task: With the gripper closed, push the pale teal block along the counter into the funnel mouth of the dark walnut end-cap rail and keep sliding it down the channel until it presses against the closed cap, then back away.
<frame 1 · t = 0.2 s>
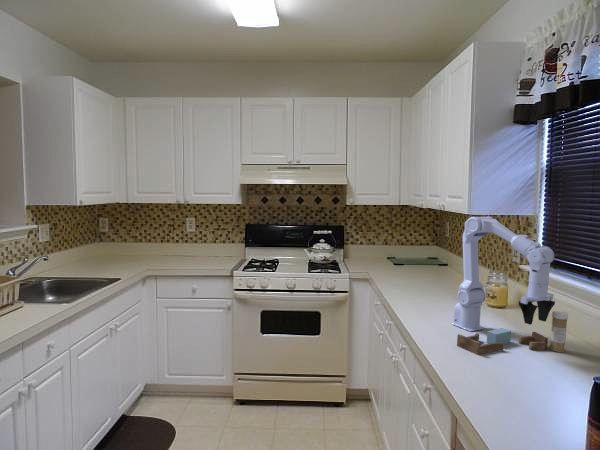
hand: (535, 322, 141), 10 cm above the counter, fingers open, 7 cm apart
brown stepped block: (531, 346, 146), on the counter
endcap rail: (476, 347, 143), on the counter
pale teal block: (498, 343, 148), on the counter
sprinkles bottle: (557, 350, 143), on the counter
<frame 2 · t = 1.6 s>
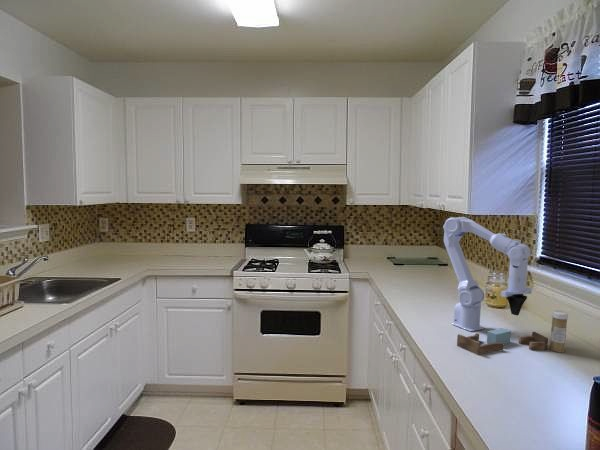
hand: (515, 314, 151), 9 cm above the counter, fingers closed
nothing on the counter moved.
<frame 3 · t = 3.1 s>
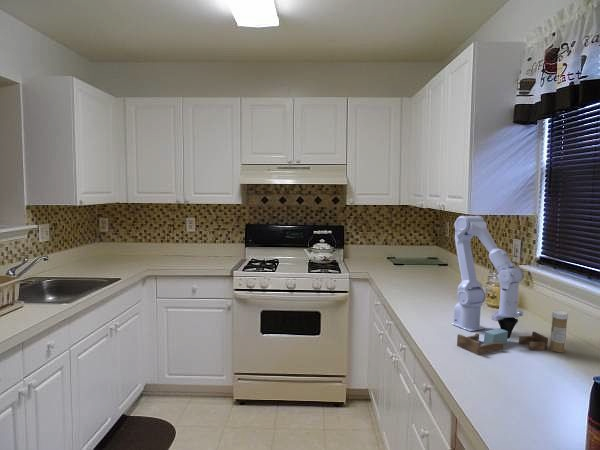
hand: (505, 337, 150), 1 cm above the counter, fingers closed
pale teal block: (495, 343, 148), on the counter, touching gripper
everything else where it was.
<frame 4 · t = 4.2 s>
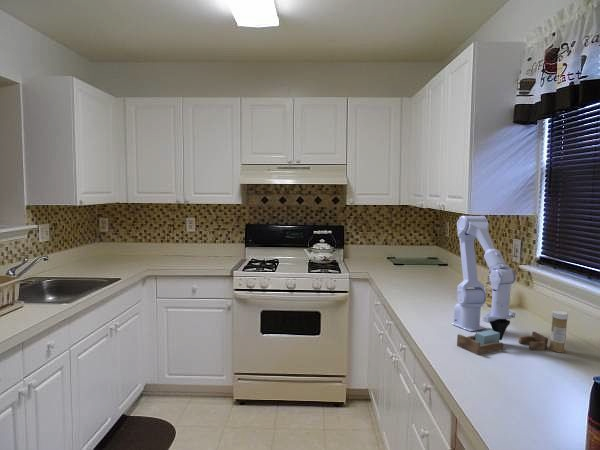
hand: (498, 339, 148), 1 cm above the counter, fingers closed
pale teal block: (487, 345, 146), on the counter, touching gripper
everything else where it was.
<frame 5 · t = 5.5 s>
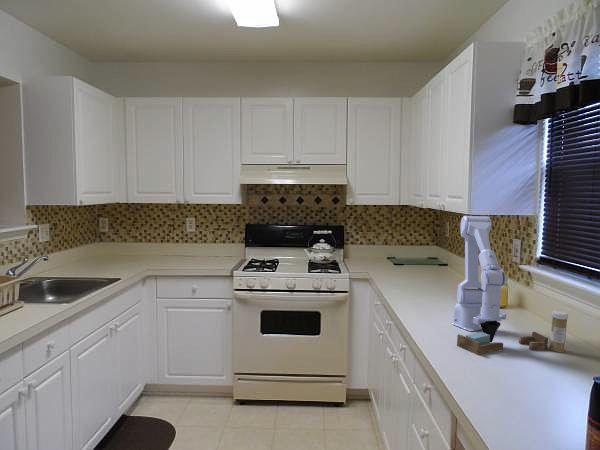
hand: (488, 341, 146), 1 cm above the counter, fingers closed
pale teal block: (477, 347, 143), on the counter, touching gripper
everything else where it was.
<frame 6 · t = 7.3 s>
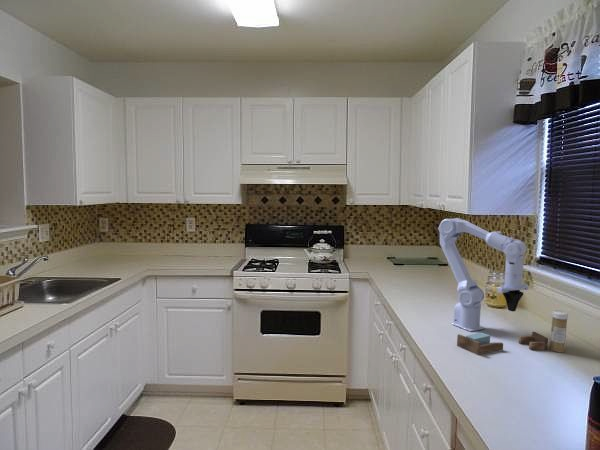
hand: (511, 310, 152), 10 cm above the counter, fingers closed
pale teal block: (477, 348, 143), on the counter
everything else where it was.
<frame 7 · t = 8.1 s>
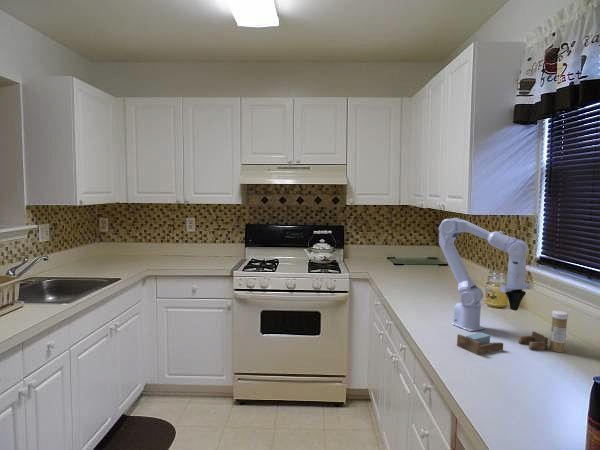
hand: (514, 309, 154), 10 cm above the counter, fingers closed
nothing on the counter moved.
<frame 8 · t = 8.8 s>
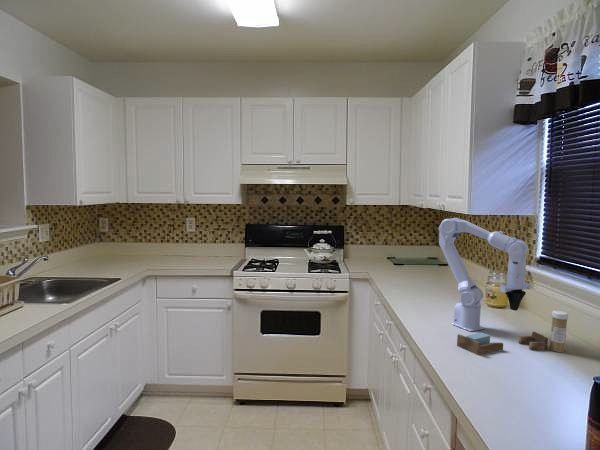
hand: (514, 309, 154), 10 cm above the counter, fingers closed
nothing on the counter moved.
at the end: pale teal block 0.5 cm off-centre on the endcap rail, point 0.0 cm above the endcap rail's base; pale teal block tilted 0°; pale teal block moved 10.9 cm from its start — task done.
